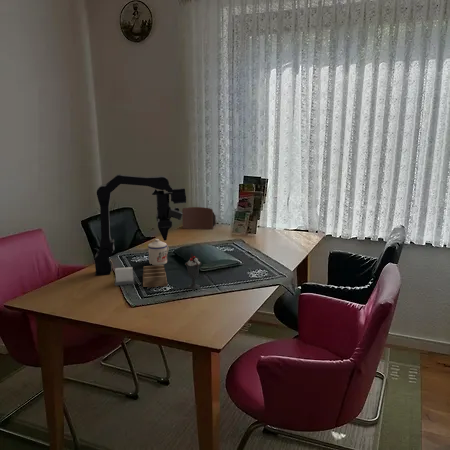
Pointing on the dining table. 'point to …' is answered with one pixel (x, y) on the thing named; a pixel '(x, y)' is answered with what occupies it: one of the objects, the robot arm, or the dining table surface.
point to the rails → (124, 282)
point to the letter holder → (198, 218)
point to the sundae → (193, 270)
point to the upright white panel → (124, 274)
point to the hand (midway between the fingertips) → (164, 237)
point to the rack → (154, 276)
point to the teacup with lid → (158, 252)
